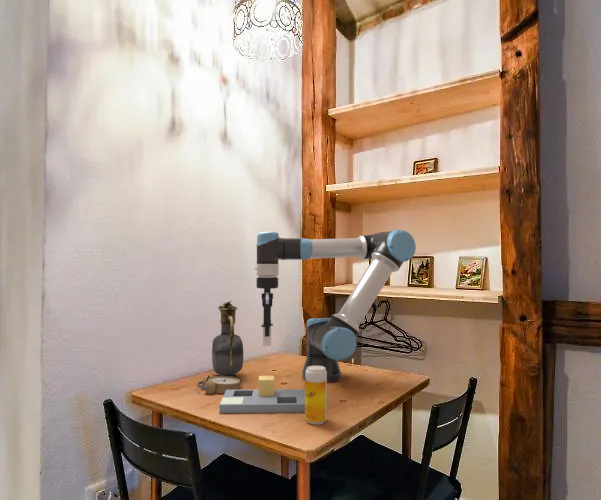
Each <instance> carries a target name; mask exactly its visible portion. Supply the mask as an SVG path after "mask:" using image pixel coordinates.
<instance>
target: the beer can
mask: <svg viewBox="0 0 601 500" xmlns="http://www.w3.org/2000/svg"><path fill="white" fill-rule="evenodd" d="M327 383H328V382H327V371H326V369H325V367H323V366H308V367H307V369H306V371H305V379H304V385H305V386H304V390H305V412H304V419H305V421H306V423H308V424H310V425H317V426H318V425H323V424H325V422H326V420H327V407H328V405H327V403H328V402H327V400H328V399H327V397H328V392H327V391H328V388H327V387H328V386H327Z"/></svg>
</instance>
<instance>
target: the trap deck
mask: <svg viewBox="0 0 601 500" xmlns="http://www.w3.org/2000/svg"><path fill="white" fill-rule="evenodd" d="M258 395H259V388H258V389H257V388H256V389H255V388H254V389H239V390H226V391H225V393H223V396H222V398H221V401H220V403H219V412H218V414H255V413H256V414H261V413H262V414H268V413H269V414H270V413H271V414H273V413H274V414H279V413H280V414H281V413H283V414H285V413H288V414H289V413H291V414H292V413H295V414H296V413H305V388H296V389H295V388H292V389H291V388H289V389H288V388H287V389H285V388H284V389H283V388H282V389H281V388H279V389H275V388H274V396H258Z"/></svg>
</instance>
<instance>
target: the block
mask: <svg viewBox="0 0 601 500" xmlns="http://www.w3.org/2000/svg"><path fill="white" fill-rule="evenodd" d="M258 389H259V395H258V396H274V389H275V375H259V376H258Z"/></svg>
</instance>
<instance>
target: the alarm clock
mask: <svg viewBox="0 0 601 500" xmlns="http://www.w3.org/2000/svg"><path fill="white" fill-rule="evenodd" d="M196 387H197V388H199V389H203V390H204V391H205V393H206V394H208V395H213V394H214V393H217V394H224V393H225V391H226V390H241V389H240V388H243V385H241V379H240V378H238V377H237V378H235V377H231V376H218V375H217V376H211V377H210V375H205V376H204V377H203V378H202V380H200V381H198V382H197V385H196Z"/></svg>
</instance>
